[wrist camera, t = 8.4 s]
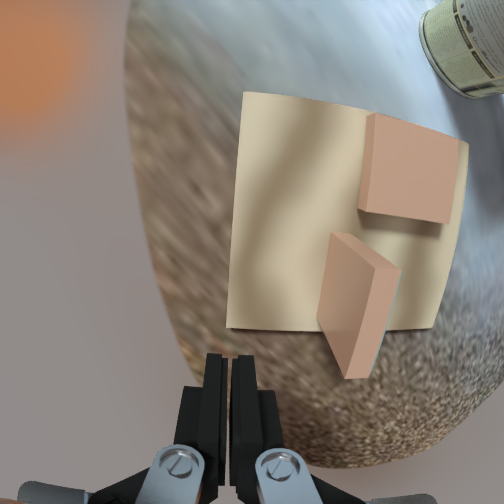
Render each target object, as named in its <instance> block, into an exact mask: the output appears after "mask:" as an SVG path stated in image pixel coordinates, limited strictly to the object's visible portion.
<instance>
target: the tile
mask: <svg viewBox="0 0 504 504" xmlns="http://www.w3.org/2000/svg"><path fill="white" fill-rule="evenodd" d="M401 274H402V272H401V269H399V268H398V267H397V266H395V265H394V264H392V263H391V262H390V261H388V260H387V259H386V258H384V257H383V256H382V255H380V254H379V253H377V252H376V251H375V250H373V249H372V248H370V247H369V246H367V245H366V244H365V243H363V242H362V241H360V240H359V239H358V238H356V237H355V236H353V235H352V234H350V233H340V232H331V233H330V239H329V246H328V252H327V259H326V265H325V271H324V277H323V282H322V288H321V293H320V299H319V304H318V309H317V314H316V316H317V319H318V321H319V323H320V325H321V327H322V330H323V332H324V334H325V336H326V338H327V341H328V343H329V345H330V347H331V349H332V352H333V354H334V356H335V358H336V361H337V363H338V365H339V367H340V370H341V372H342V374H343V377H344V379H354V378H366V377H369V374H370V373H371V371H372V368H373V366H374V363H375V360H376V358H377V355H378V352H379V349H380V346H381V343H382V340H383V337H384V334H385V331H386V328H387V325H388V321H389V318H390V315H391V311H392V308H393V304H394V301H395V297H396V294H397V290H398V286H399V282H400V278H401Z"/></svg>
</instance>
